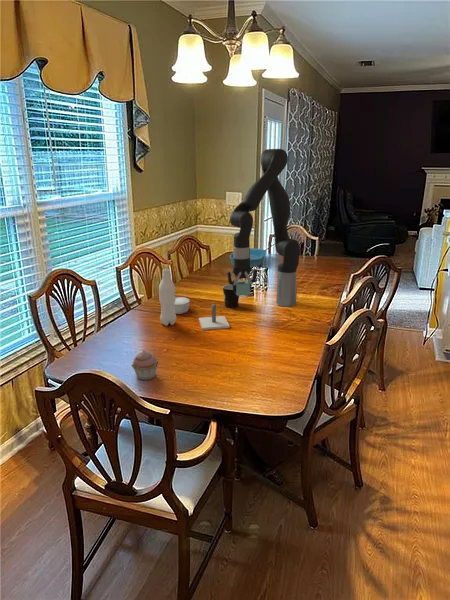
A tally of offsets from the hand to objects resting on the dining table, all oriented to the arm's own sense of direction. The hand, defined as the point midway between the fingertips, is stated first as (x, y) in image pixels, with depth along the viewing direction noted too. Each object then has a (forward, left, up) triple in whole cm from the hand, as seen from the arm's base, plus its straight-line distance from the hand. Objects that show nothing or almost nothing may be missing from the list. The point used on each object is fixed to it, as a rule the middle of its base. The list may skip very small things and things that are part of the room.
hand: (242, 291), depth 205 cm
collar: (0, 0, -1) cm, 1 cm away
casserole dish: (-26, -97, -13) cm, 101 cm away
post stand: (+14, +7, -12) cm, 20 cm away
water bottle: (+34, +3, -12) cm, 37 cm away
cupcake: (+45, +50, -12) cm, 69 cm away
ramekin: (+28, -13, -12) cm, 34 cm away
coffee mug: (+1, -16, -12) cm, 20 cm away
